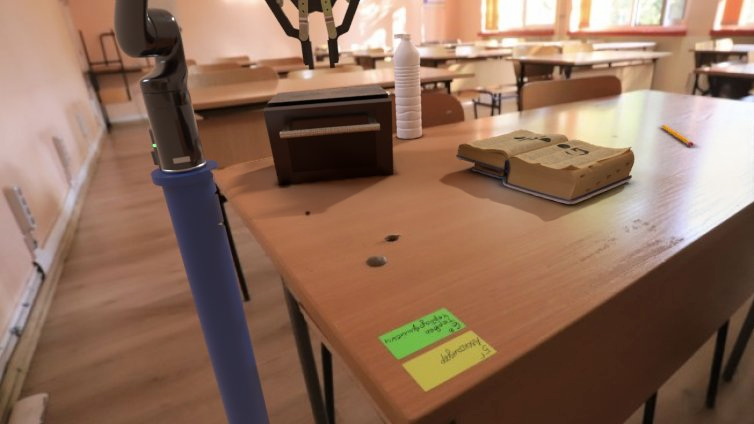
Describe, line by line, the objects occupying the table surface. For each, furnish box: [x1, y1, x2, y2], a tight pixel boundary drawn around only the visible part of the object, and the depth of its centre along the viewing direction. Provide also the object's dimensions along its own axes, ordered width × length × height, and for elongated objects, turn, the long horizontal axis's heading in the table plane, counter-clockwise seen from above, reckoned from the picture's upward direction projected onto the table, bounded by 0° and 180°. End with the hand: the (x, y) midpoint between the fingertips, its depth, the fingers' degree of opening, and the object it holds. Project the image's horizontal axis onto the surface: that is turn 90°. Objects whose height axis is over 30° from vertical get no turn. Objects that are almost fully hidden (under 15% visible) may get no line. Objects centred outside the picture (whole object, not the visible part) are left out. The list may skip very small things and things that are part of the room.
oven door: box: [262, 97, 394, 186], centre depth 74 cm, size 6×22×15 cm, turn 95°
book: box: [455, 129, 636, 205], centre depth 73 cm, size 25×17×6 cm, turn 32°
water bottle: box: [392, 33, 423, 140], centre depth 104 cm, size 9×6×25 cm
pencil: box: [661, 124, 694, 147], centre depth 93 cm, size 1×19×1 cm, turn 163°
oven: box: [266, 84, 389, 108], centre depth 86 cm, size 16×22×15 cm
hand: (322, 67), depth 59 cm, fingers closed
